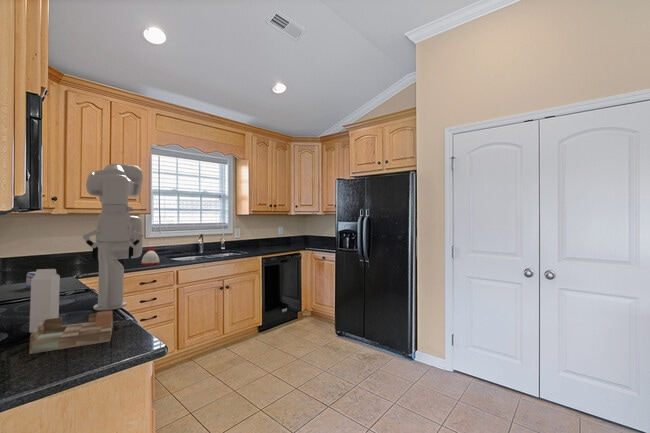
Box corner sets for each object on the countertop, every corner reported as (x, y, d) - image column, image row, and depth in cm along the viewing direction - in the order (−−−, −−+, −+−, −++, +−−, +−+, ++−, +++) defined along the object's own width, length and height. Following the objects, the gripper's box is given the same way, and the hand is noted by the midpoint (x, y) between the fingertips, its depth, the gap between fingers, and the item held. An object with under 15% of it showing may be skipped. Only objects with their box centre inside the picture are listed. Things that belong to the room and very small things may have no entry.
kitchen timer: (140, 263, 273) (141, 246, 273) (157, 262, 281) (158, 246, 281) (142, 265, 262) (143, 247, 262) (160, 264, 270) (161, 247, 270)
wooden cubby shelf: (43, 335, 107) (43, 319, 107) (112, 325, 118) (113, 311, 118) (29, 353, 92) (30, 335, 92) (110, 341, 103) (110, 324, 103)
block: (97, 322, 113) (97, 312, 113) (111, 321, 115) (112, 310, 115) (95, 326, 109) (96, 315, 109) (111, 324, 112) (111, 313, 112)
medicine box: (25, 288, 174) (26, 272, 174) (34, 286, 178) (35, 271, 178) (36, 289, 172) (36, 273, 172) (45, 287, 176) (45, 272, 176)
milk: (49, 331, 111) (51, 270, 111) (28, 332, 109) (31, 270, 109) (58, 325, 116) (60, 267, 116) (38, 326, 114) (40, 268, 115)
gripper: (143, 211, 115) (142, 256, 115) (85, 209, 106) (83, 259, 106) (143, 210, 109) (142, 259, 108) (82, 208, 100) (80, 261, 99)
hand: (113, 258), depth 107 cm, fingers open, 9 cm apart
